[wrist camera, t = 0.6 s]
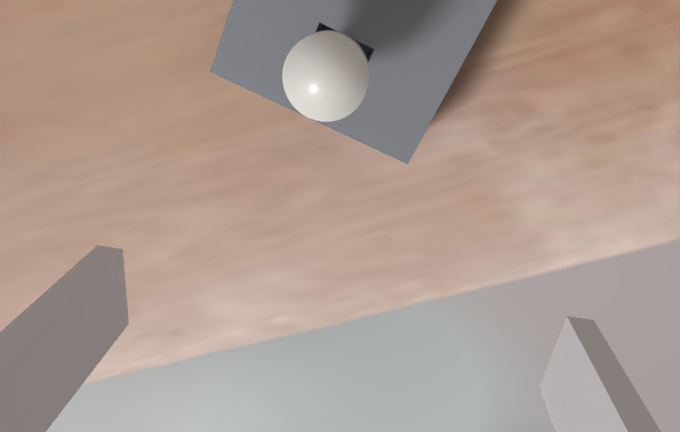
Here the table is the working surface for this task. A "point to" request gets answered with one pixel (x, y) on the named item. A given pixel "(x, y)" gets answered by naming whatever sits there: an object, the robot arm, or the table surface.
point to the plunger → (326, 76)
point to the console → (379, 47)
